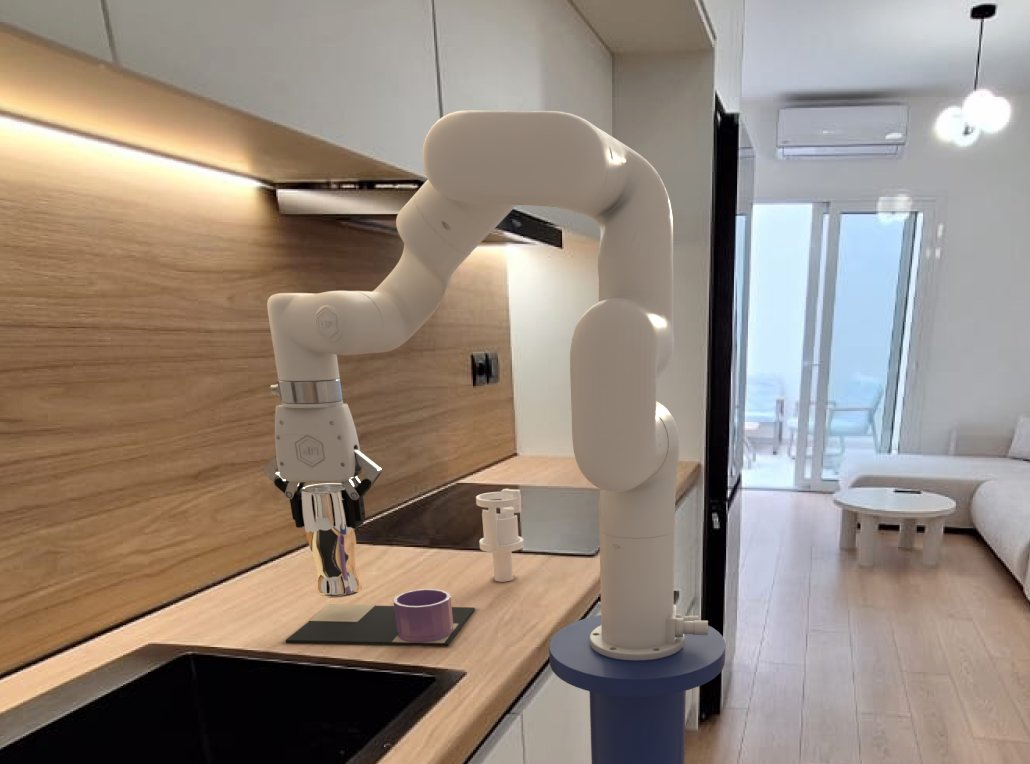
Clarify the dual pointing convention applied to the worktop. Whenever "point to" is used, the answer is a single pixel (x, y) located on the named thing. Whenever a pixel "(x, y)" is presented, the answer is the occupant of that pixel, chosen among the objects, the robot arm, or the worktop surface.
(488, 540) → the white tall plastic stand
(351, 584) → the beer glass
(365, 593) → the worktop surface
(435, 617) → the dish
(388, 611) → the place mat
